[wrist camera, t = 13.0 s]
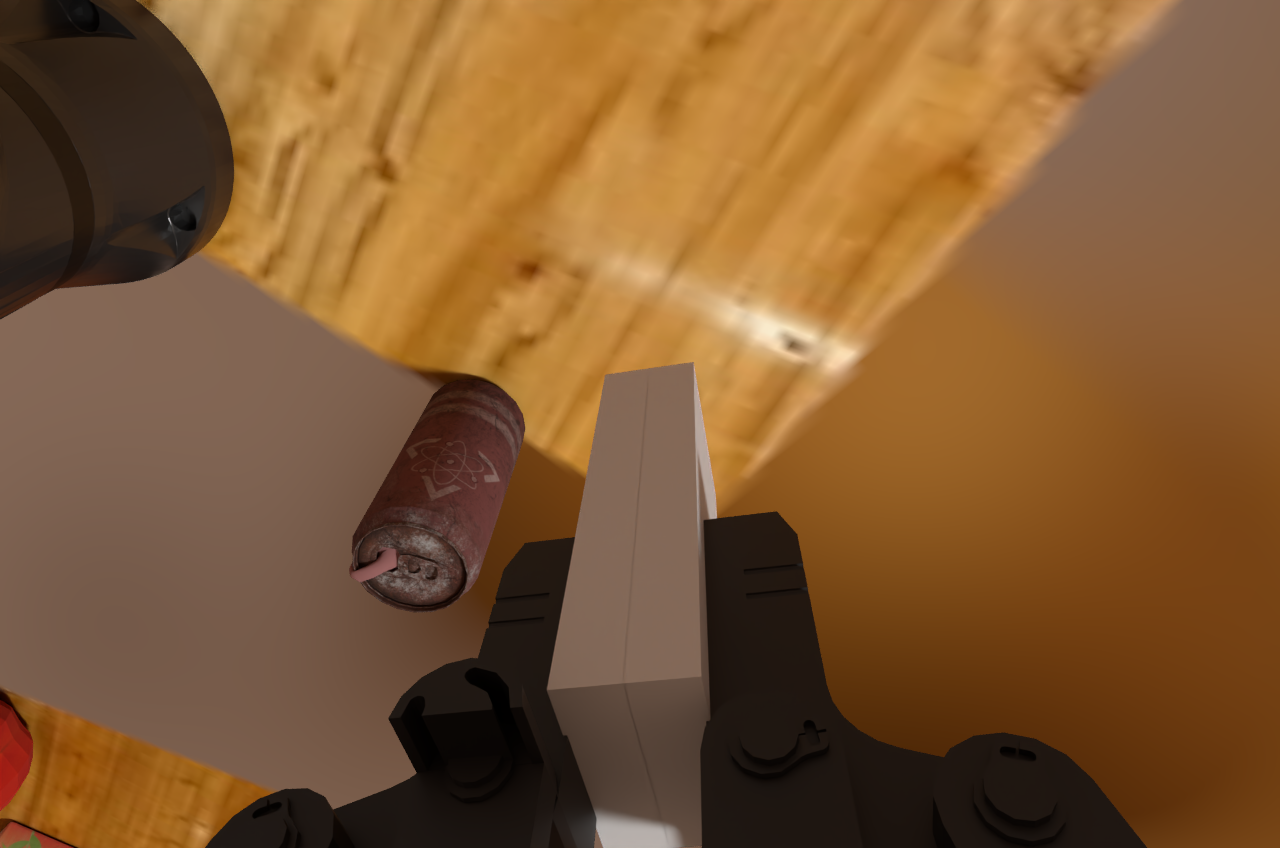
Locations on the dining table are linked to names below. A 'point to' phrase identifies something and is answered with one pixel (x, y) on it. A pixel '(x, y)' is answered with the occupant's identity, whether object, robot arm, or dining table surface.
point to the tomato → (13, 753)
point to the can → (440, 499)
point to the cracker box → (26, 838)
